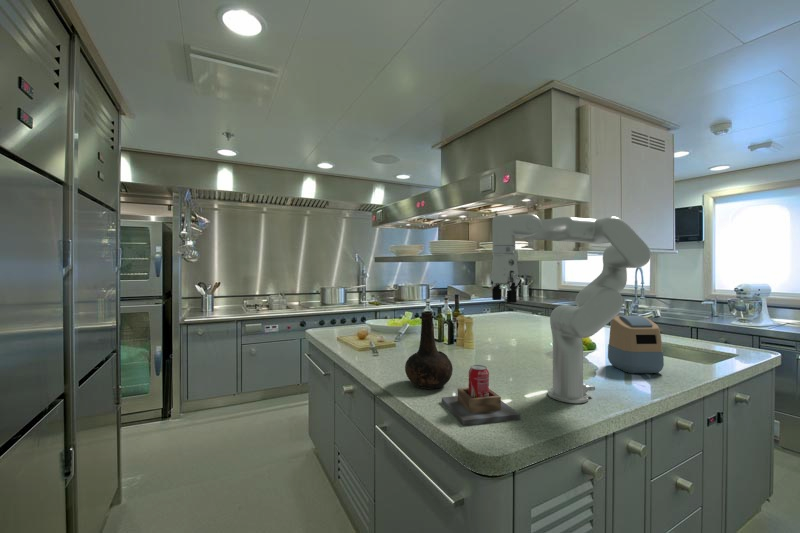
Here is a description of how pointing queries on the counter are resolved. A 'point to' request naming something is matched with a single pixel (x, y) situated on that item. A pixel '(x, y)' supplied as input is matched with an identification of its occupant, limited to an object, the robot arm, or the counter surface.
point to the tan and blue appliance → (635, 345)
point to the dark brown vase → (428, 359)
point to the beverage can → (478, 381)
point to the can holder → (479, 408)
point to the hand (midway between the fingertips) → (503, 301)
